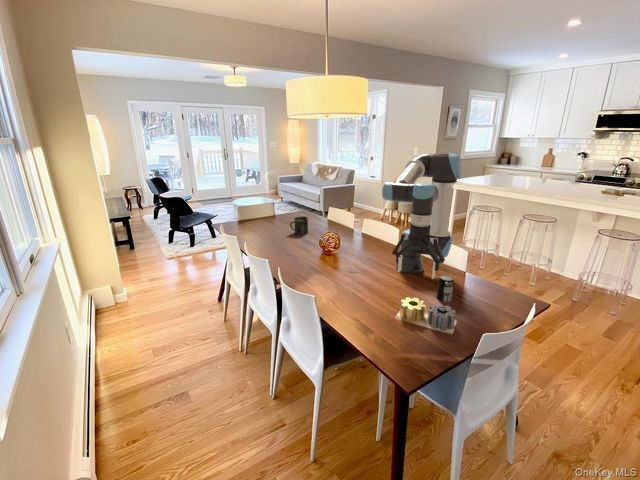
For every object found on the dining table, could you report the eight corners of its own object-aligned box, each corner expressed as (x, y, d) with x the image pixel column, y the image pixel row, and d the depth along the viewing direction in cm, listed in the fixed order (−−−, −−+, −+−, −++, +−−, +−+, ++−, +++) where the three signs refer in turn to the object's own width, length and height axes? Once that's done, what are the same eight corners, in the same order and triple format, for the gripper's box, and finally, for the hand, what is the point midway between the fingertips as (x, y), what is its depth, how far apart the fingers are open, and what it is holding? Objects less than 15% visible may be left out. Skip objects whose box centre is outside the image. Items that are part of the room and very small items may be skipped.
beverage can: (439, 295, 154) (442, 273, 150) (453, 299, 150) (456, 276, 146) (434, 301, 149) (437, 277, 145) (448, 305, 145) (451, 281, 141)
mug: (310, 233, 248) (310, 218, 244) (292, 236, 243) (292, 221, 239) (305, 230, 257) (305, 215, 253) (288, 232, 252) (287, 217, 248)
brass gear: (404, 307, 142) (405, 295, 140) (426, 313, 137) (428, 300, 135) (397, 318, 134) (398, 305, 132) (421, 324, 129) (422, 312, 127)
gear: (425, 315, 135) (427, 301, 133) (450, 317, 134) (452, 302, 131) (430, 329, 126) (431, 314, 123) (456, 331, 124) (458, 316, 122)
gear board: (402, 308, 143) (402, 298, 141) (456, 322, 132) (458, 311, 130) (394, 320, 134) (395, 310, 132) (452, 337, 123) (453, 325, 121)
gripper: (386, 222, 125) (383, 271, 132) (453, 231, 113) (446, 284, 120) (392, 217, 131) (389, 264, 138) (456, 225, 119) (450, 276, 126)
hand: (415, 274), depth 129 cm, fingers open, 13 cm apart
